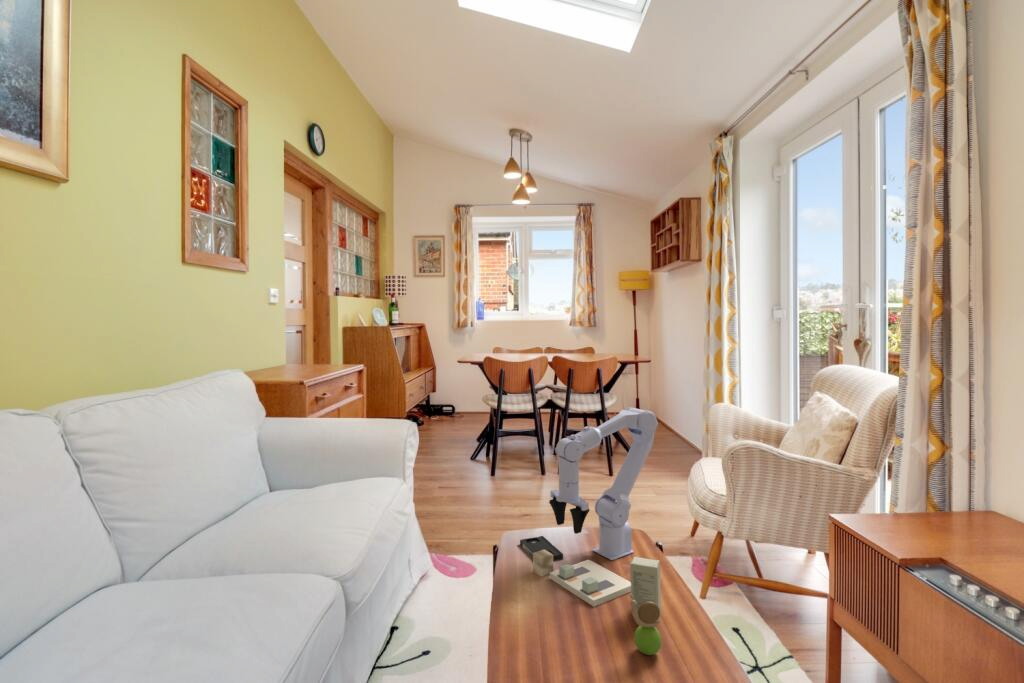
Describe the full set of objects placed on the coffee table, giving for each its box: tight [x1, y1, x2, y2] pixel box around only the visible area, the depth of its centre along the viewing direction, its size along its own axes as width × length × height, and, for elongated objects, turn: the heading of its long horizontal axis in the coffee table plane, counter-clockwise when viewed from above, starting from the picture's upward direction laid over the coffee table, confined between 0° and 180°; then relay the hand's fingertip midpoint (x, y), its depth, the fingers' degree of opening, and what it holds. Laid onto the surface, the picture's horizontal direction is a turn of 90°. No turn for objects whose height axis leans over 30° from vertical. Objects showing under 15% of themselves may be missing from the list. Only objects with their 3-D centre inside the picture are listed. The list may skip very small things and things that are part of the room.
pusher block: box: [532, 550, 554, 578], centre depth 137 cm, size 4×4×5 cm
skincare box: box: [629, 556, 662, 620], centre depth 116 cm, size 6×4×12 cm
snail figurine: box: [629, 593, 663, 656], centre depth 102 cm, size 5×6×12 cm
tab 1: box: [558, 563, 574, 579], centre depth 131 cm, size 3×2×2 cm
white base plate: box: [549, 559, 631, 608], centre depth 130 cm, size 14×17×2 cm
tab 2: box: [582, 577, 598, 593], centre depth 124 cm, size 3×2×2 cm
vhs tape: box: [519, 535, 564, 562], centre depth 150 cm, size 14×8×2 cm, turn 21°
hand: (568, 528), depth 143 cm, fingers open, 7 cm apart
